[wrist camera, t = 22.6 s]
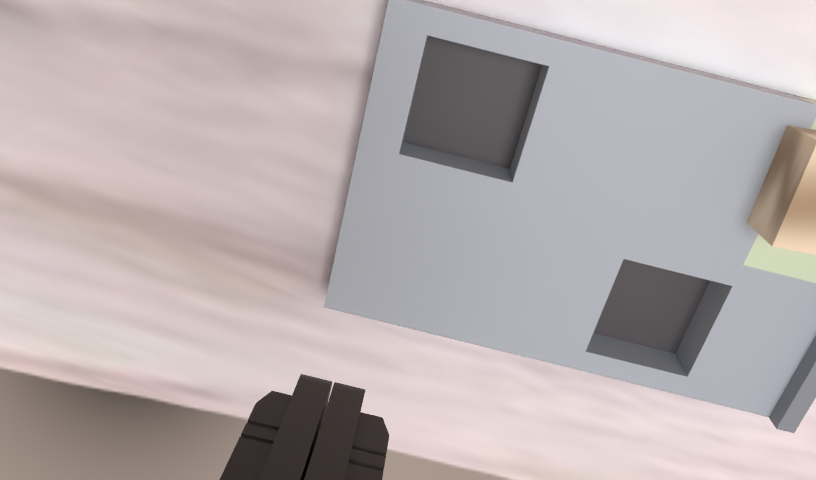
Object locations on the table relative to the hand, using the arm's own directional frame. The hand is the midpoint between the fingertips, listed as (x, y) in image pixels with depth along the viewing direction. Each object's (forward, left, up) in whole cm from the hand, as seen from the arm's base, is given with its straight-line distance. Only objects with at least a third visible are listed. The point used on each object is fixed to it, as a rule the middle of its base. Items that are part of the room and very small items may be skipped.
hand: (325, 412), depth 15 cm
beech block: (-3, +23, -26) cm, 35 cm away
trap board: (+3, +13, -29) cm, 32 cm away
